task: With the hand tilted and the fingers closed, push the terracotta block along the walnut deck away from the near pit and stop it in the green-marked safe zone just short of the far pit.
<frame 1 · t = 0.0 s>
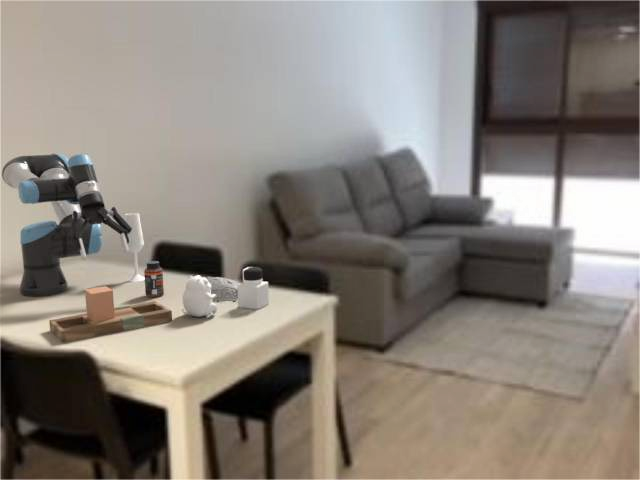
hand: (106, 255, 219), 15 cm above the table, tool tilted 35°, fingers open, 13 cm apart
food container: (220, 295, 229), on the table
champagne flute: (136, 280, 251), on the table
supplement bottle: (154, 296, 229), on the table
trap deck: (112, 325, 197), on the table
figurine: (199, 316, 206), on the table
medicine bottle: (253, 306, 215), on the table
block: (101, 317, 195), point 3 cm above the table, touching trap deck
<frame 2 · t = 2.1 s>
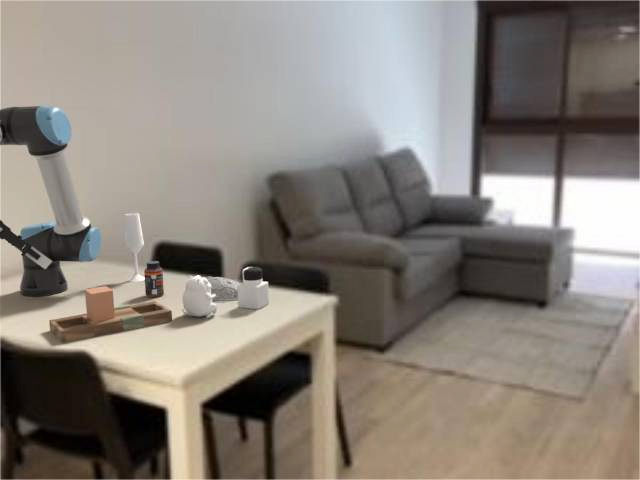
hand: (43, 261, 184), 21 cm above the table, tool tilted 45°, fingers open, 11 cm apart
nothing on the table moved.
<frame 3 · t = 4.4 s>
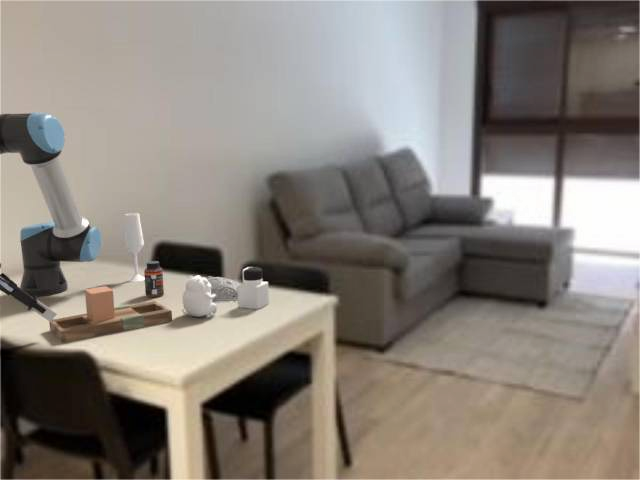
hand: (53, 317, 188), 6 cm above the table, tool tilted 45°, fingers closed
nothing on the table moved.
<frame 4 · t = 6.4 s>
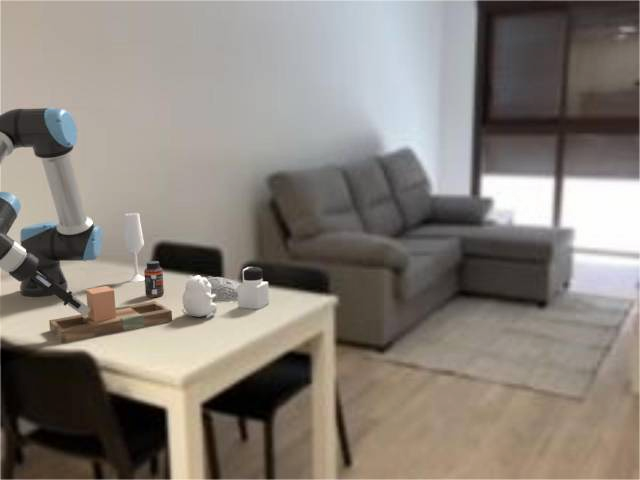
hand: (87, 312, 192), 5 cm above the table, tool tilted 45°, fingers closed
block: (102, 317, 195), point 3 cm above the table, touching gripper
everything else where it was.
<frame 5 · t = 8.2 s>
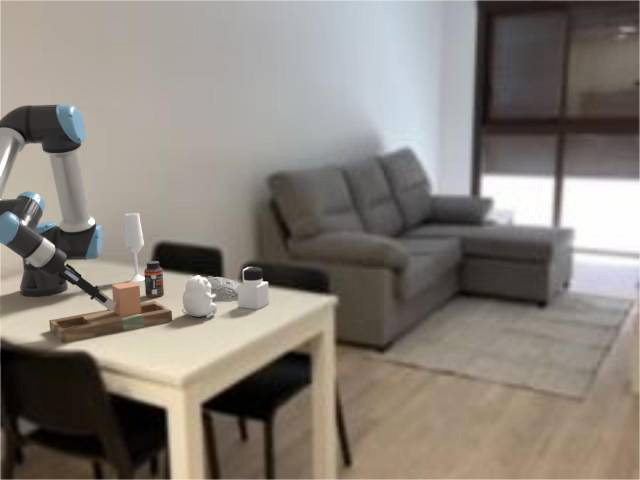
hand: (112, 306, 197), 6 cm above the table, tool tilted 45°, fingers closed
block: (127, 312, 200), point 3 cm above the table, touching gripper
everything else where it was.
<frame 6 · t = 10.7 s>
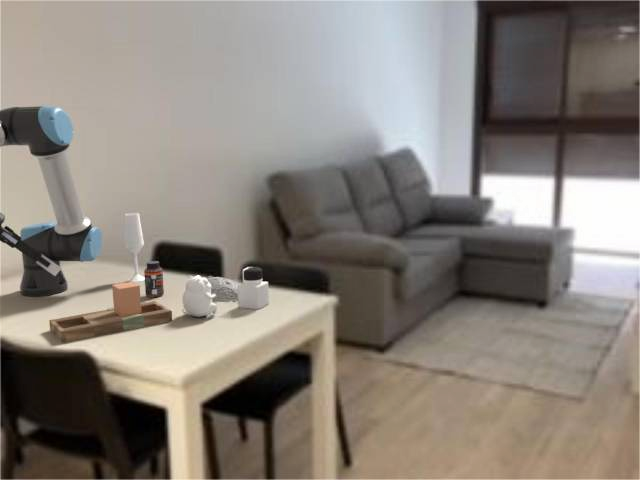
hand: (57, 271, 186), 18 cm above the table, tool tilted 45°, fingers closed
block: (127, 312, 200), point 3 cm above the table, touching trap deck
everything else where it was.
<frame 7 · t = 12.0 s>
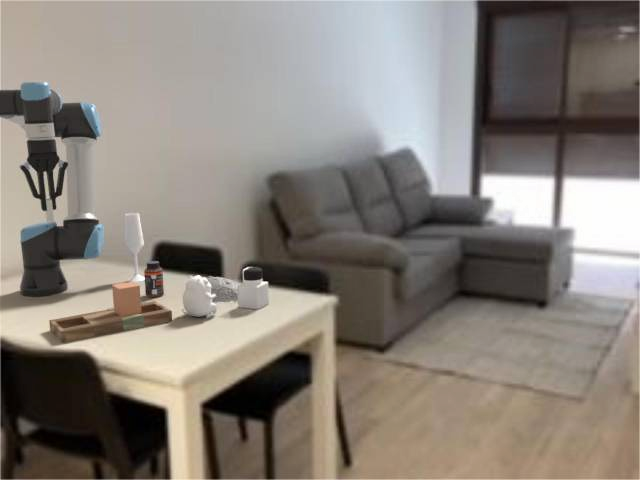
hand: (50, 221, 198), 29 cm above the table, tool pointing down, fingers closed
nothing on the table moved.
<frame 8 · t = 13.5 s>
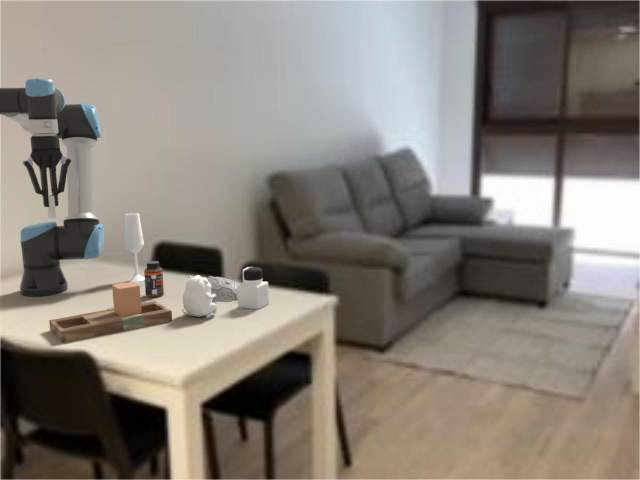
hand: (52, 217, 199), 30 cm above the table, tool pointing down, fingers closed
nothing on the table moved.
at the end: block 1.0 cm from the target spot on the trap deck, point 3.0 cm above the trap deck's base; block tilted 0°; block touching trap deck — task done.
